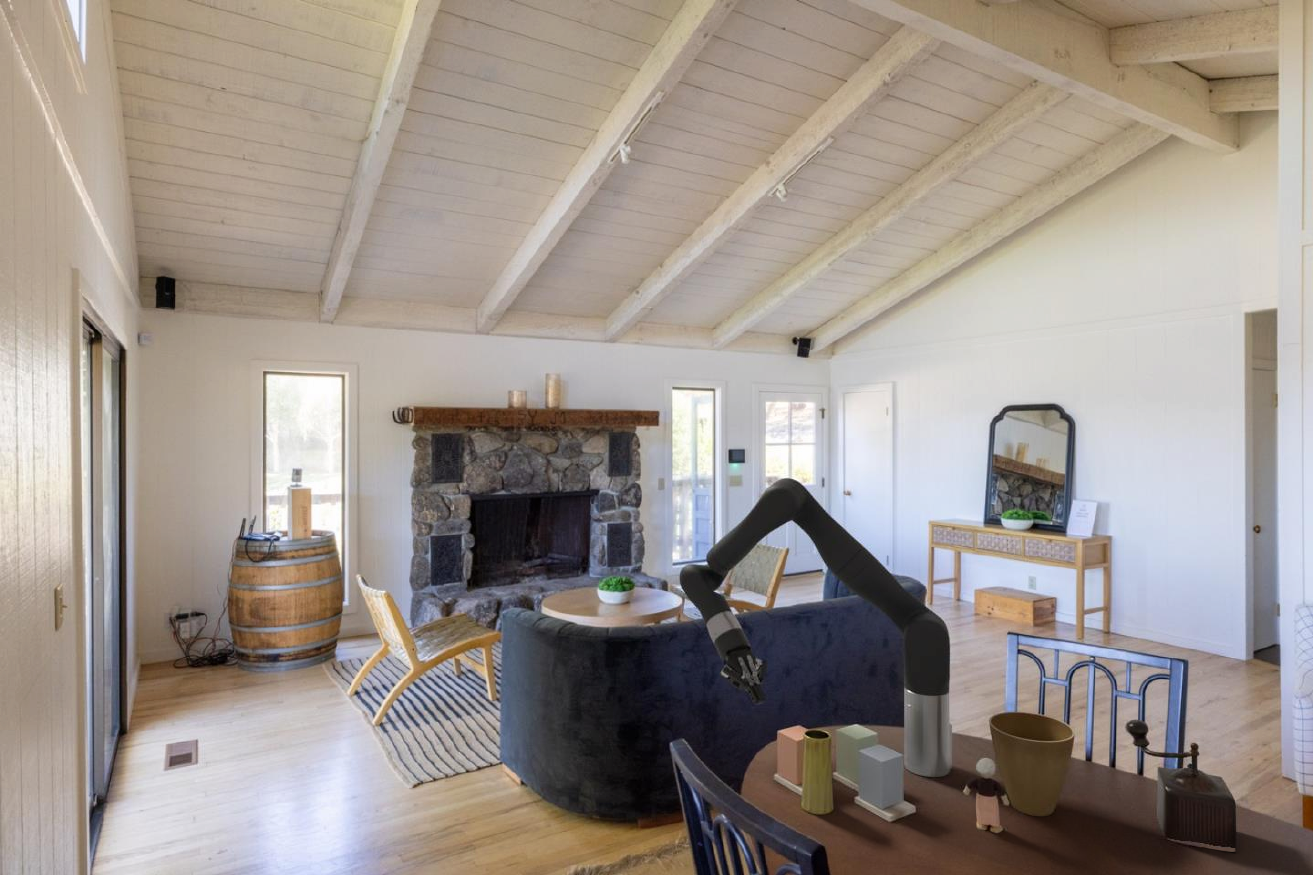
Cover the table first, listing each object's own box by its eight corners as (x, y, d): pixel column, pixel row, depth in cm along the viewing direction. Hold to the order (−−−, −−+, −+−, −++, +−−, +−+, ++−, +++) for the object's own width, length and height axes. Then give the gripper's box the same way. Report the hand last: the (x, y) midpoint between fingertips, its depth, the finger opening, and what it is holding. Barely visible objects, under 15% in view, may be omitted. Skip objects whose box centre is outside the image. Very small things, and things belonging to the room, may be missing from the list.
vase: (833, 816, 143) (833, 741, 143) (800, 813, 144) (800, 738, 144) (832, 801, 149) (832, 729, 149) (801, 798, 150) (801, 726, 150)
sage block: (856, 765, 162) (856, 723, 162) (878, 776, 157) (878, 733, 157) (836, 772, 159) (836, 729, 159) (857, 783, 154) (857, 739, 154)
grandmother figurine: (1007, 825, 139) (1007, 757, 139) (1010, 835, 136) (1009, 765, 136) (962, 818, 142) (962, 751, 142) (964, 828, 138) (963, 759, 138)
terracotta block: (798, 767, 161) (798, 725, 161) (818, 777, 156) (818, 734, 156) (777, 773, 158) (777, 730, 158) (796, 784, 153) (796, 740, 153)
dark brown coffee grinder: (1221, 824, 140) (1221, 727, 140) (1238, 855, 130) (1238, 750, 130) (1123, 807, 146) (1123, 714, 146) (1132, 834, 136) (1132, 735, 136)
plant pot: (997, 782, 157) (997, 705, 157) (1079, 802, 148) (1079, 721, 148) (981, 811, 144) (981, 728, 144) (1069, 835, 136) (1069, 747, 136)
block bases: (836, 759, 168) (836, 755, 168) (929, 806, 147) (929, 801, 147) (773, 779, 158) (773, 774, 158) (863, 832, 137) (863, 826, 137)
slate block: (879, 788, 151) (879, 744, 151) (903, 801, 146) (903, 754, 146) (858, 796, 148) (858, 750, 148) (882, 809, 143) (881, 761, 143)
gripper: (711, 630, 172) (744, 700, 162) (756, 623, 179) (791, 689, 169) (698, 648, 177) (730, 717, 167) (743, 640, 184) (776, 705, 173)
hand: (761, 702), depth 168 cm, fingers closed
